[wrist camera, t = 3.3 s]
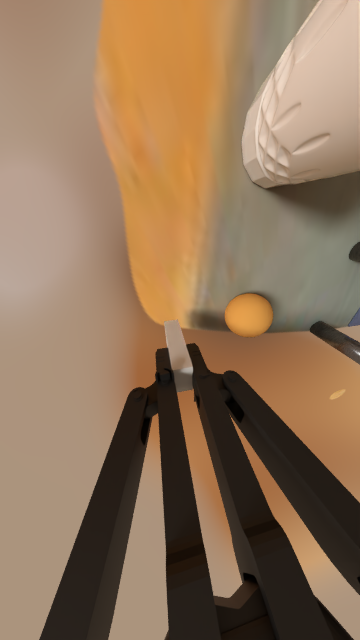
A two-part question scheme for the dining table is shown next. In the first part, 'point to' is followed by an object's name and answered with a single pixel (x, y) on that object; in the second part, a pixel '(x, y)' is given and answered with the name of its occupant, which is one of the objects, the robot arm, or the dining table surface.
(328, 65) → the white cup
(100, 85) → the dining table surface
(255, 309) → the ball
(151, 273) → the dining table surface
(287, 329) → the dining table surface
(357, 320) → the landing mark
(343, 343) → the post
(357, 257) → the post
